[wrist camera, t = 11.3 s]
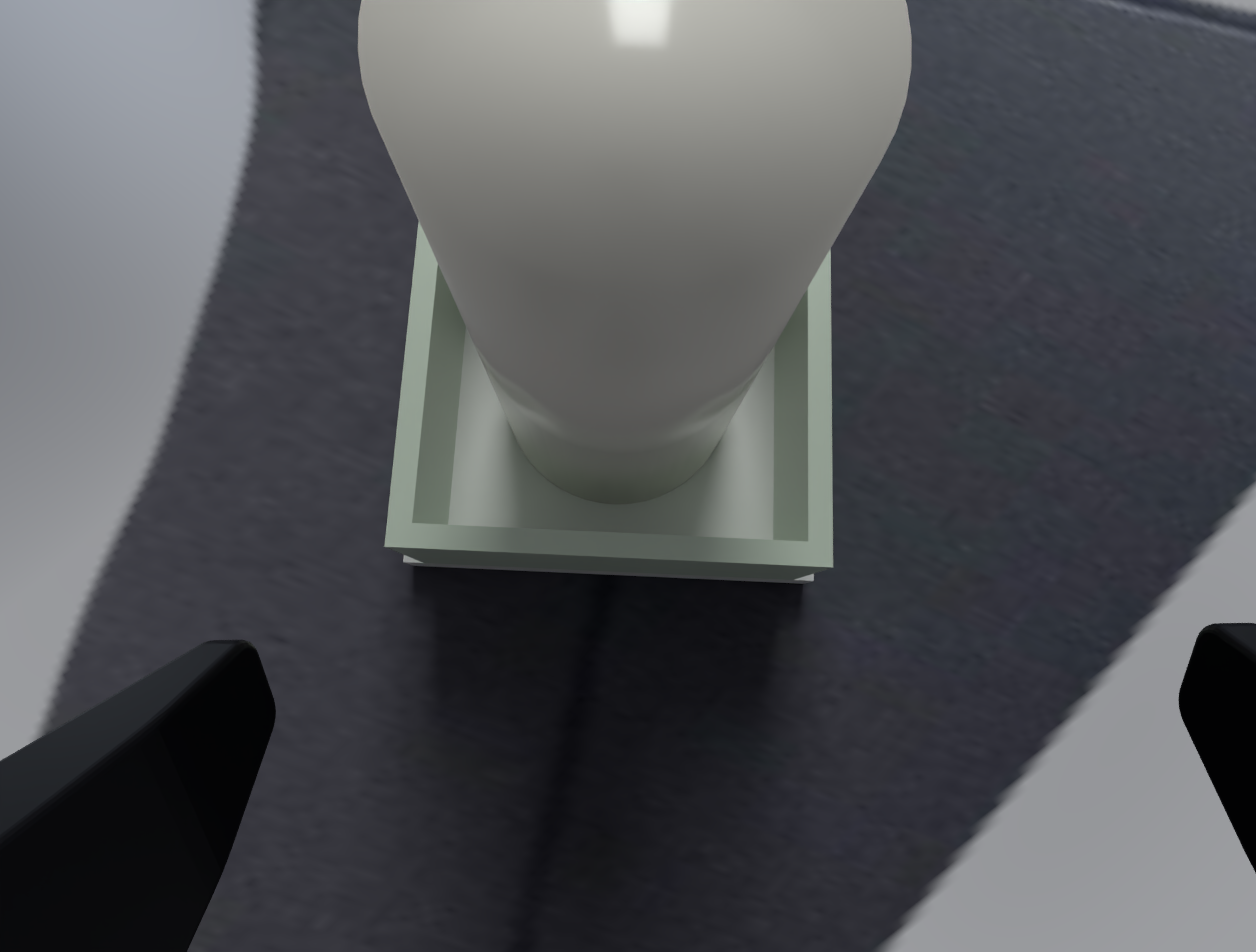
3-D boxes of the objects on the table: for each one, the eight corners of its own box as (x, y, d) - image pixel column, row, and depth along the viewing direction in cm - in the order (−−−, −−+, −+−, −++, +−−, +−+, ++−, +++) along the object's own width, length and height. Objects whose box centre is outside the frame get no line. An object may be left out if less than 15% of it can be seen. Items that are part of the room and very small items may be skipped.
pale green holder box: (803, 583, 20) (865, 566, 16) (413, 565, 20) (351, 542, 15) (803, 131, 23) (856, -5, 18) (457, 112, 23) (416, -30, 18)
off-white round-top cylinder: (635, 550, 20) (688, 401, 7) (461, 411, 20) (238, 59, 8) (771, 380, 21) (1016, -3, 8) (600, 253, 21) (595, -282, 9)
